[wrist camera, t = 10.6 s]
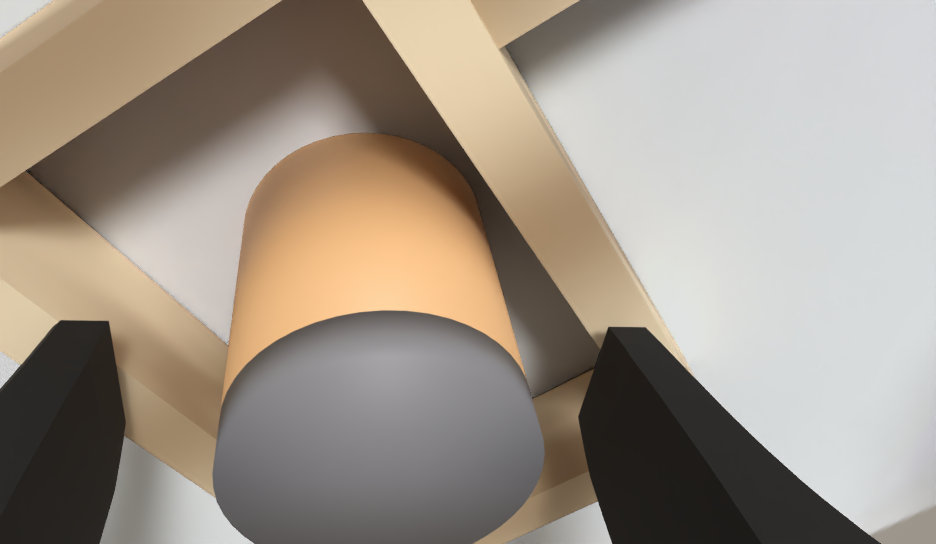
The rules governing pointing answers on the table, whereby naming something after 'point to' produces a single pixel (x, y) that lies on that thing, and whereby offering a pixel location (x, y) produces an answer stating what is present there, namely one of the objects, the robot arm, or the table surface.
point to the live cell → (371, 357)
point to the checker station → (180, 333)
